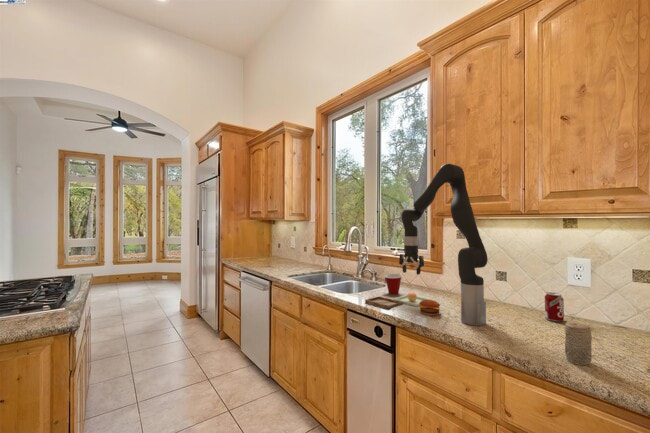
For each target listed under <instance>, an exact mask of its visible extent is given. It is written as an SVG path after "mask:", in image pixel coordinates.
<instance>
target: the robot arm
mask: <svg viewBox="0 0 650 433" xmlns="http://www.w3.org/2000/svg"><path fill="white" fill-rule="evenodd" d="M465 177H466V176H465V171H464V169H463V168H462V167H461V166H459V165H456V164H453V163H444V164H443V165H441V166H440V168H439V169H438V170H437V172H436V173H435V175H434V176H433V177H432V179H431V181H430V182H429V183H428V186H426V188H425V189H424V191H423V192H422V193H421V194H420V196H419V197H417V198H416V199H415V201H414V202H413V208H406V209H404V210H402V213H401V221H402V225H403V228H404V237H403V238H404V240H403V241H404V242H403V248H404V249H403V252H404V253H400V254H399V261H398V262H399V263H398V264H399V265H400V266H402V272H403V273H404V274H405V273H407V264H408V263H410V264H414V265H415V266H416V275H420V274H421V271H422V269H421V268H424V267H425V262H424V261H425V260H424V255H419V236H418V227H417V226H416V225H415V224H414V222H417V221H418V220H420V219H421V217H423V214H424V212H425V211H426V209H427V208H428V207H430V205H431V204H432V203H433V201H434V200H435V198H436V195H437V192H439V189H440V188H441V187H442V186H443V185H444V184H449V186H450V188H451V192H452V200H451V204H450V214H451V217H452V222H453V224H454V225H455V226H456V228H457V229H458V230H459V231H460V233H461V234H462V235H463V236H464V238H465V239H466V242H467V245H468V247H463V248H460V249H459V251H458V254H457V266H458V276H459V278H460V321H461V322H462V323H464V324H467V325H471V326H479V327H481V326H483V325H485V324H486V323H487V310H486V309H487V302H486V300H485V294H484V293H485V292H484V290H485V289H484V288H485V286H484V285H485V284H484V282H485V281H484V277H482V276H480V275H478V274H476V269H482V268H484V267H486V266H487V265H488V253H487V251H486V248H485V245H484V243H483V240H482V238H481V235H480V233H479V229H478V226H477V223H476V219H475V218H476V217H475V214H474V211H473V207H472V205H471V201H470V197H469V193H468V189H467V184H466V182H467V181H466V178H465Z"/></svg>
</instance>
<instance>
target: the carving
mask: <svg viewBox="0 0 650 433" xmlns="http://www.w3.org/2000/svg"><path fill="white" fill-rule="evenodd" d="M564 333H565V338H564V339H565V340H564V353H565V359H566V360H567V361H568V362H570V363H571V364H574V365H578V366H587V365H589V364H591V363H592V356H593V355H592V351H593V350H592V340H593V337H592V330H591V327H590V326H589V325H588V324H585V323H580V322H571V321H568V322H565V325H564Z"/></svg>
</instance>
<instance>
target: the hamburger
mask: <svg viewBox="0 0 650 433" xmlns="http://www.w3.org/2000/svg"><path fill="white" fill-rule="evenodd" d="M419 304H420V306H419V309H420V310H419V312H420V313H421V314H422V315H425V316H430V317H438V316H440V306H441V304H440V303H439V302H438V301H436V300H433V299H432V300H423V301H421V302H420V303H419Z"/></svg>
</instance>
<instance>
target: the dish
mask: <svg viewBox="0 0 650 433" xmlns="http://www.w3.org/2000/svg"><path fill="white" fill-rule="evenodd" d="M407 296H408V294H405V295H401V296H397V297H394V298H392V300H397V301H401V302H403V304H404V305H408V306H412V307H415V308H416V307H420V304H419V303H420V302H421V301H423V300H433V299H431V298H427V297H422V296H417V295H416V296H417V299H416V300H415V301H410V300H409V299H408V297H407ZM403 304H402V305H403Z"/></svg>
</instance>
